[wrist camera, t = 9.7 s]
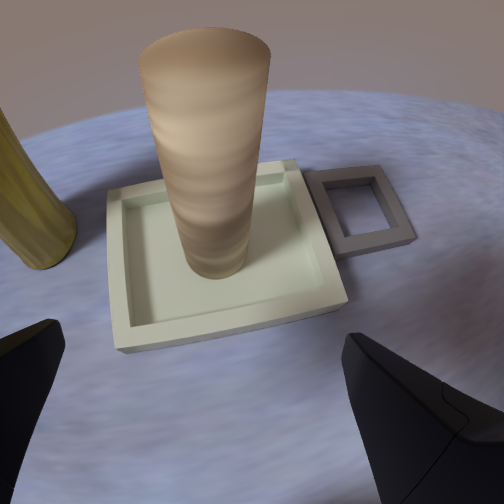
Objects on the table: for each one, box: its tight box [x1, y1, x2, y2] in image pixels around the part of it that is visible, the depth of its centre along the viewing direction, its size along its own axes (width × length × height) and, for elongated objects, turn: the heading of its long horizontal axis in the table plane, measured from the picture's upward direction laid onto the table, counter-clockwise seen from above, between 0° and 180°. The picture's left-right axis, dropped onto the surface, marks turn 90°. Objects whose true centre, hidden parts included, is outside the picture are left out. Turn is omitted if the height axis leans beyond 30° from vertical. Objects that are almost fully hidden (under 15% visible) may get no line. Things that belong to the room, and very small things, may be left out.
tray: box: [107, 159, 348, 354], centre depth 22 cm, size 12×15×2 cm
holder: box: [302, 165, 416, 261], centre depth 25 cm, size 8×8×1 cm
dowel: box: [138, 27, 271, 280], centre depth 16 cm, size 4×4×15 cm
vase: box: [0, 108, 76, 270], centre depth 16 cm, size 6×6×14 cm
